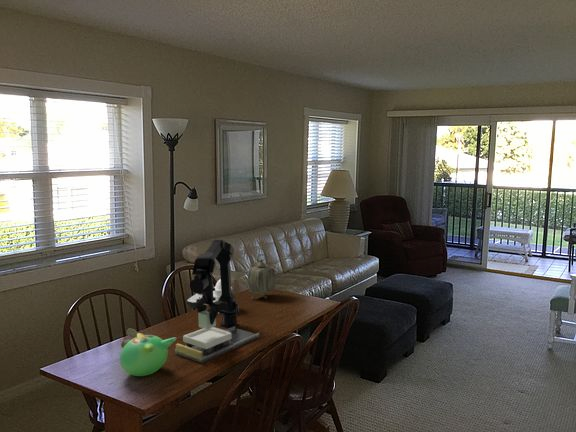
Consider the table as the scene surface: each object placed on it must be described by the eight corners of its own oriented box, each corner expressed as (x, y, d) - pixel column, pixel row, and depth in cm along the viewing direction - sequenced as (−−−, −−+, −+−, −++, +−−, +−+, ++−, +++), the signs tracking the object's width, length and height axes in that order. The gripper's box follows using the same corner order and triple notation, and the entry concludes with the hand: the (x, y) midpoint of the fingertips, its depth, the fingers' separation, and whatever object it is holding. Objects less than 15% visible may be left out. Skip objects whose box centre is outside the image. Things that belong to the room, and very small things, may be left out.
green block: (198, 326, 204) (198, 312, 203) (207, 323, 207) (207, 309, 207) (206, 329, 200) (206, 315, 200) (216, 325, 204) (215, 311, 204)
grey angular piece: (128, 352, 200) (121, 328, 203) (121, 356, 204) (113, 334, 206) (146, 346, 207) (139, 324, 210) (138, 351, 211) (131, 329, 213)
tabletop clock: (264, 293, 286) (263, 251, 283) (276, 296, 281) (275, 253, 278) (248, 300, 275) (247, 255, 272) (261, 302, 269) (259, 257, 266)
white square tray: (183, 348, 204) (183, 335, 203) (210, 337, 215) (210, 325, 215) (206, 356, 195) (206, 343, 194) (233, 344, 207) (233, 332, 206)
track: (175, 353, 202) (174, 344, 201) (234, 329, 228) (233, 321, 227) (201, 363, 192) (200, 353, 191) (259, 337, 218) (259, 328, 218)
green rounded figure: (144, 360, 195) (141, 324, 194) (179, 366, 189) (177, 329, 187) (111, 379, 179) (109, 340, 177) (149, 387, 173) (147, 346, 171)
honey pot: (240, 310, 257) (239, 276, 255) (218, 315, 249) (217, 280, 247) (226, 304, 267) (225, 272, 265) (206, 309, 259) (204, 276, 257)
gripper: (175, 287, 201) (177, 324, 203) (206, 294, 190) (208, 333, 192) (196, 281, 210) (198, 316, 212) (227, 288, 198) (228, 325, 200)
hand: (207, 323), depth 204 cm, fingers closed on green block, 5 cm apart
